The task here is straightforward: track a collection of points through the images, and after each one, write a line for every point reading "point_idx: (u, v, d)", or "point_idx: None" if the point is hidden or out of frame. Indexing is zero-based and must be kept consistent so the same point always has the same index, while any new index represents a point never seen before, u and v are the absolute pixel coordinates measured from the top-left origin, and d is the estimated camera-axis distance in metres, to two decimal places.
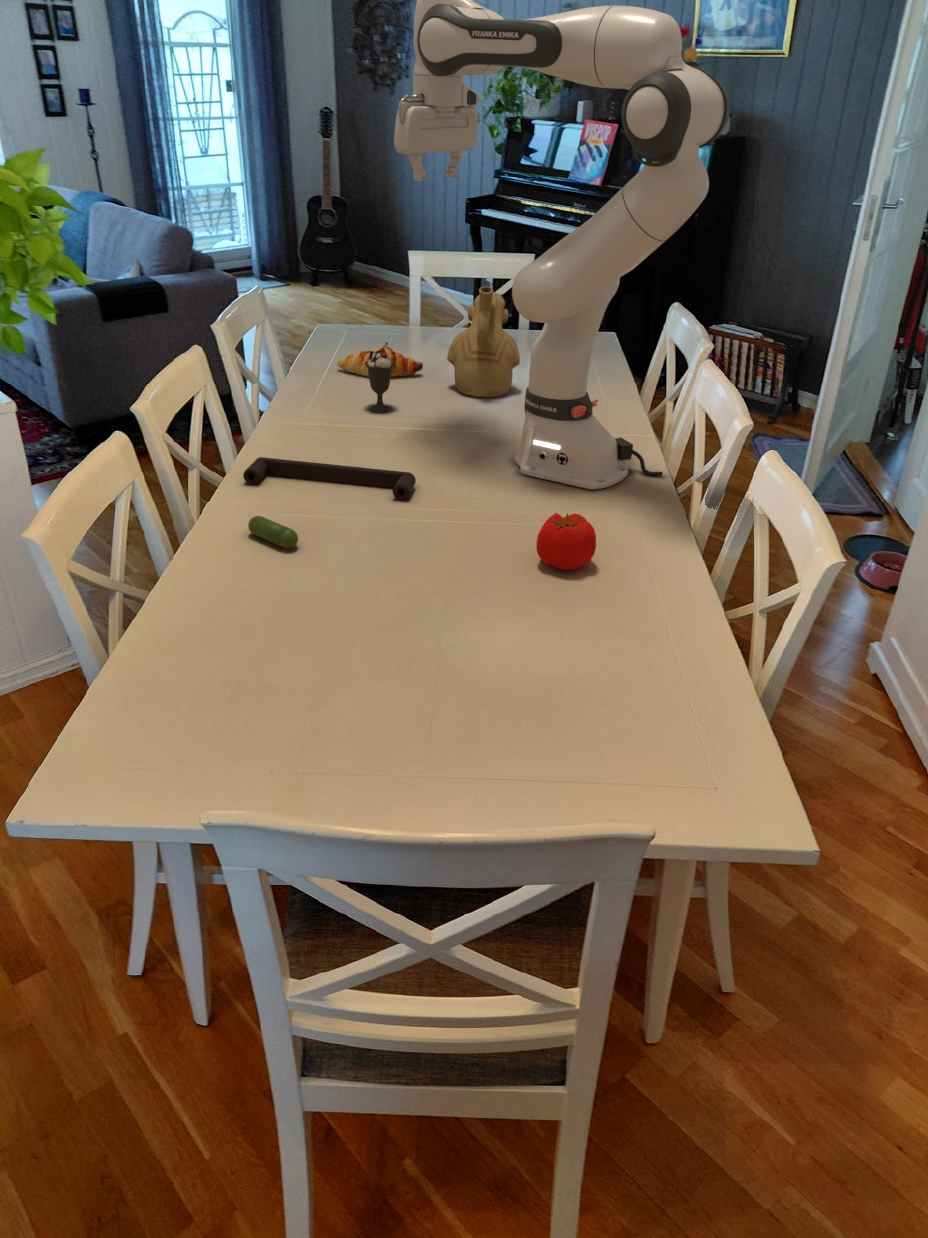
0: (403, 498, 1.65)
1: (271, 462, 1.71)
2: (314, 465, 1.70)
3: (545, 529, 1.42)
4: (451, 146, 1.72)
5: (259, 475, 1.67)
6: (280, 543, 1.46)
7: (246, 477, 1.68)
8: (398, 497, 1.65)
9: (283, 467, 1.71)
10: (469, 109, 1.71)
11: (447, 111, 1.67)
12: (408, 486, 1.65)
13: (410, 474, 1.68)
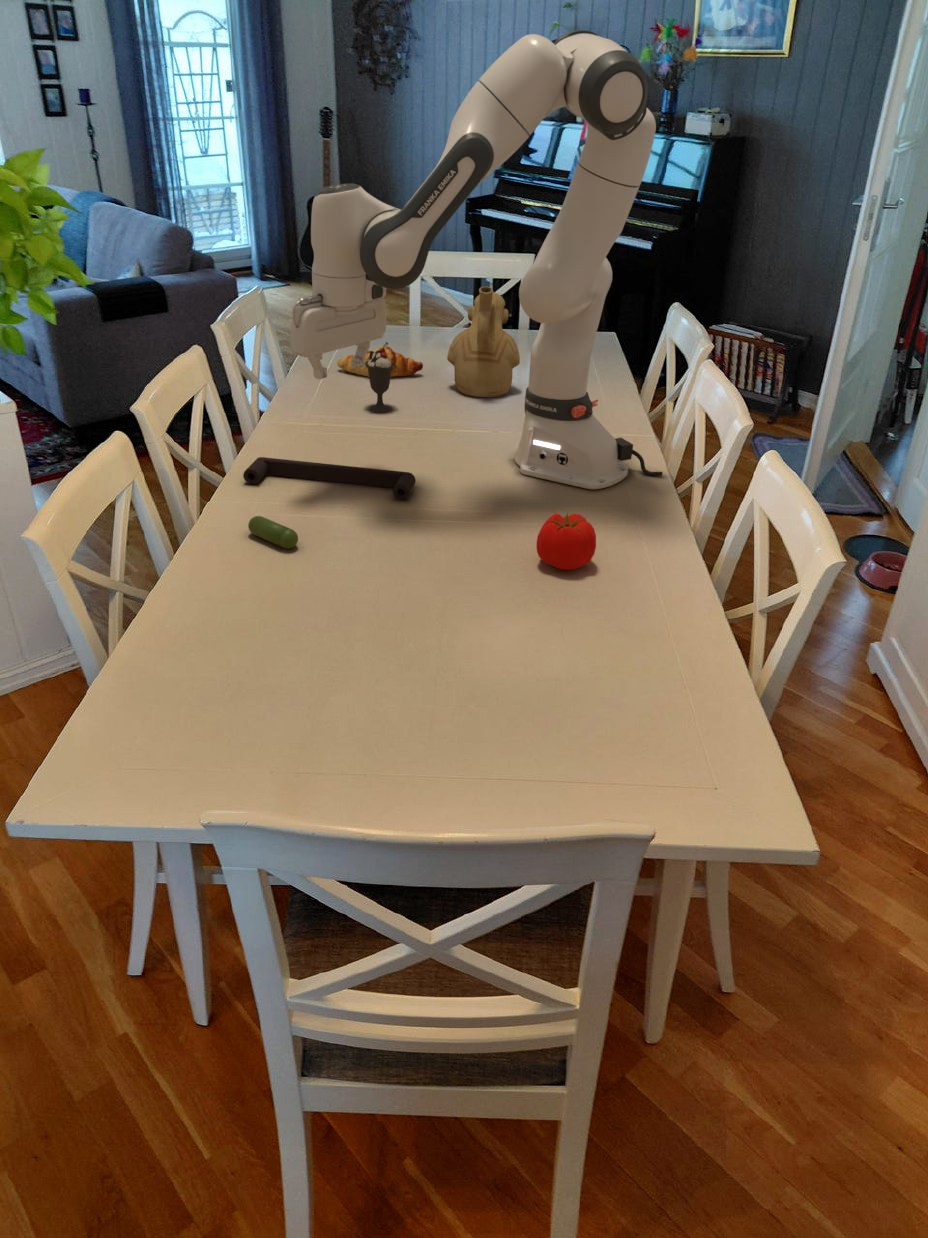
0: (403, 498, 1.65)
1: (271, 462, 1.71)
2: (314, 465, 1.70)
3: (545, 529, 1.42)
4: (356, 340, 1.60)
5: (259, 475, 1.67)
6: (280, 543, 1.46)
7: (246, 477, 1.68)
8: (398, 497, 1.65)
9: (283, 467, 1.71)
10: (375, 301, 1.59)
11: (348, 310, 1.55)
12: (408, 486, 1.65)
13: (410, 474, 1.68)
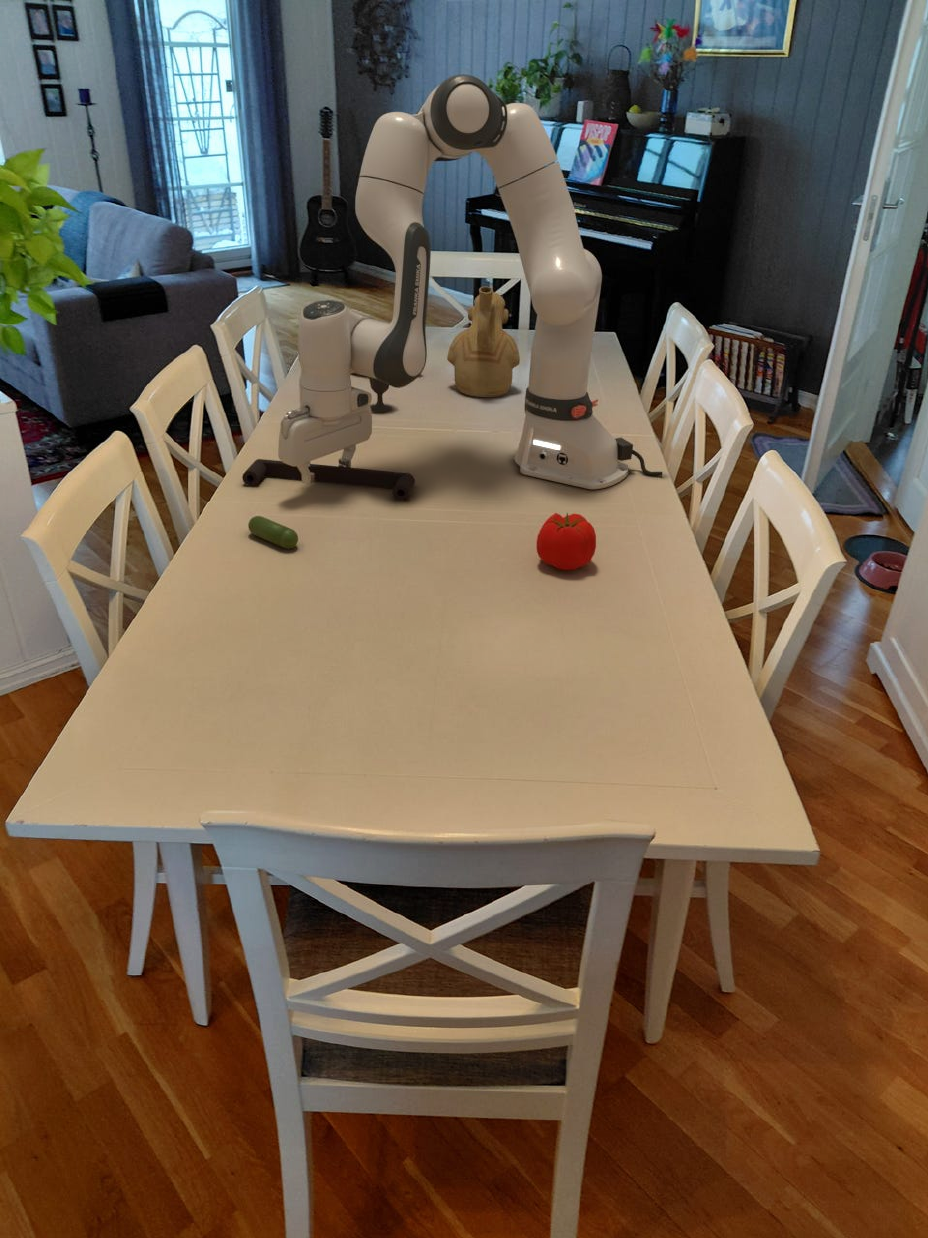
0: (403, 499, 1.65)
1: (270, 464, 1.70)
2: (313, 466, 1.69)
3: (545, 529, 1.42)
4: (343, 446, 1.66)
5: (258, 477, 1.67)
6: (280, 543, 1.46)
7: (245, 479, 1.67)
8: (398, 498, 1.65)
9: (282, 469, 1.70)
10: (361, 408, 1.65)
11: (335, 420, 1.60)
12: (408, 487, 1.65)
13: (410, 475, 1.68)
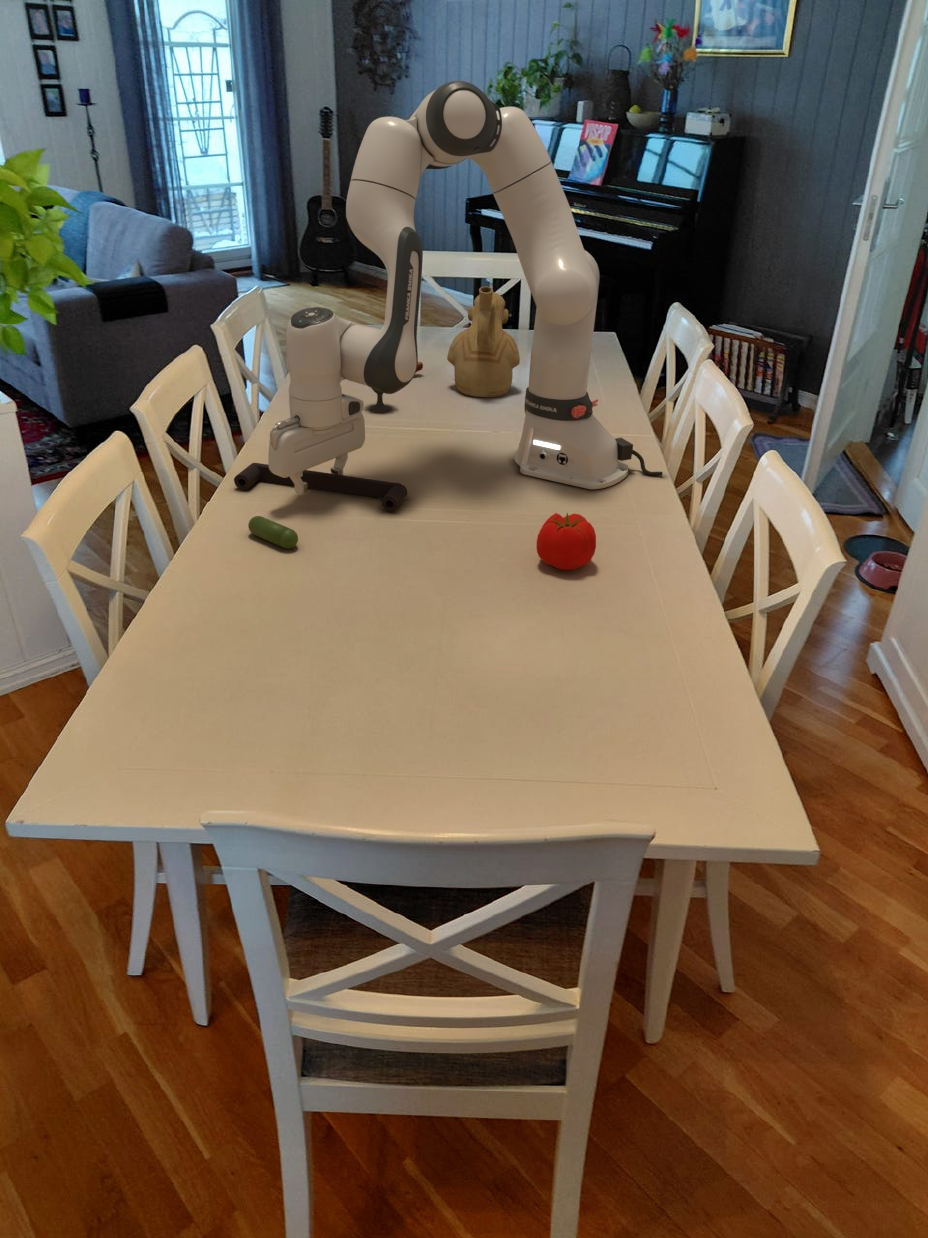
0: (391, 510, 1.60)
1: (264, 468, 1.68)
2: (306, 473, 1.67)
3: (545, 529, 1.42)
4: (335, 455, 1.63)
5: (249, 481, 1.65)
6: (280, 543, 1.46)
7: (237, 482, 1.66)
8: (386, 509, 1.60)
9: None
10: (353, 416, 1.62)
11: (326, 429, 1.57)
12: (398, 498, 1.60)
13: (402, 485, 1.64)
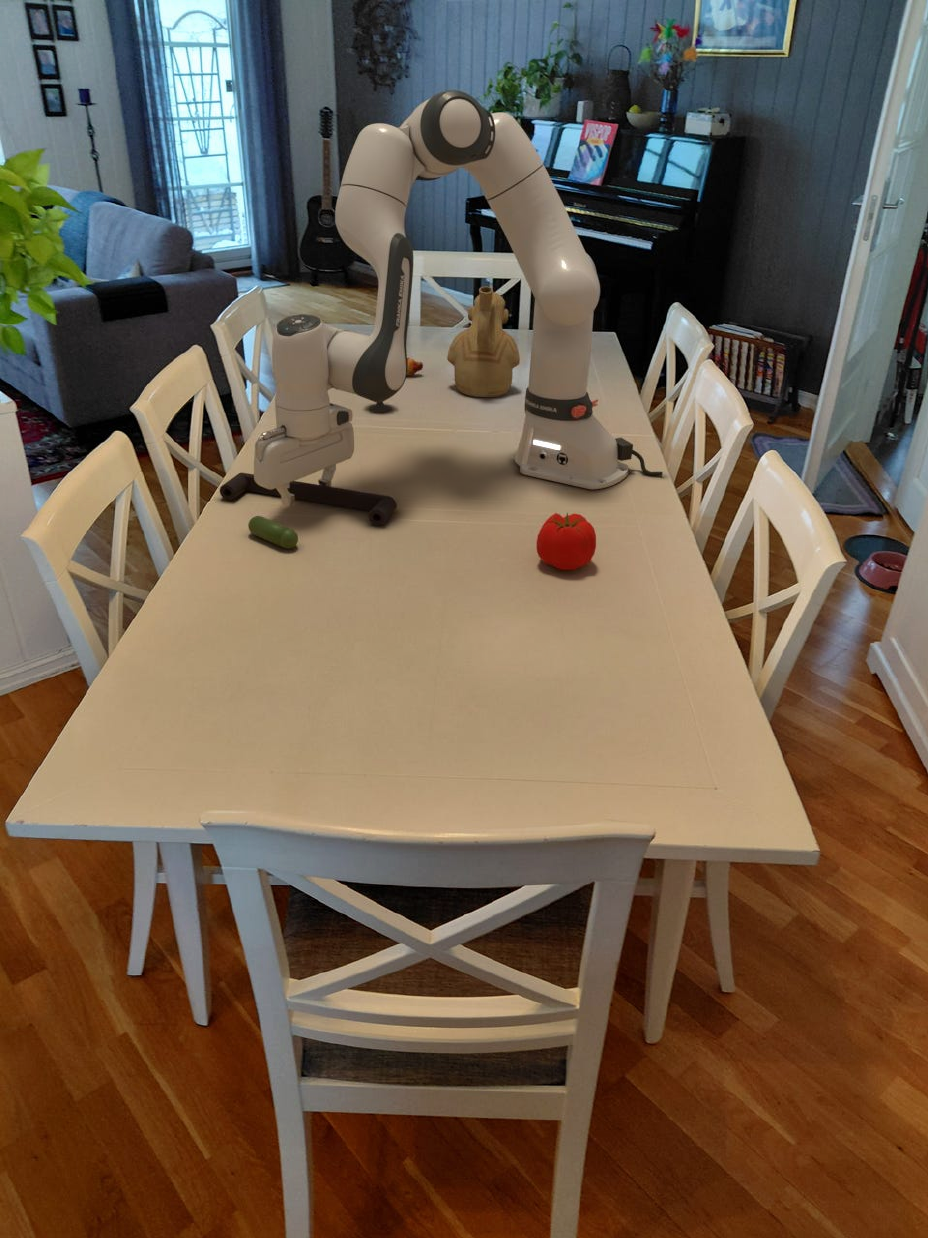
0: (379, 524, 1.55)
1: (251, 478, 1.64)
2: (294, 484, 1.62)
3: (545, 529, 1.42)
4: (323, 466, 1.58)
5: (235, 491, 1.61)
6: (280, 543, 1.46)
7: (222, 493, 1.61)
8: (374, 522, 1.56)
9: None
10: (341, 426, 1.57)
11: (313, 439, 1.52)
12: (385, 511, 1.55)
13: (390, 498, 1.59)
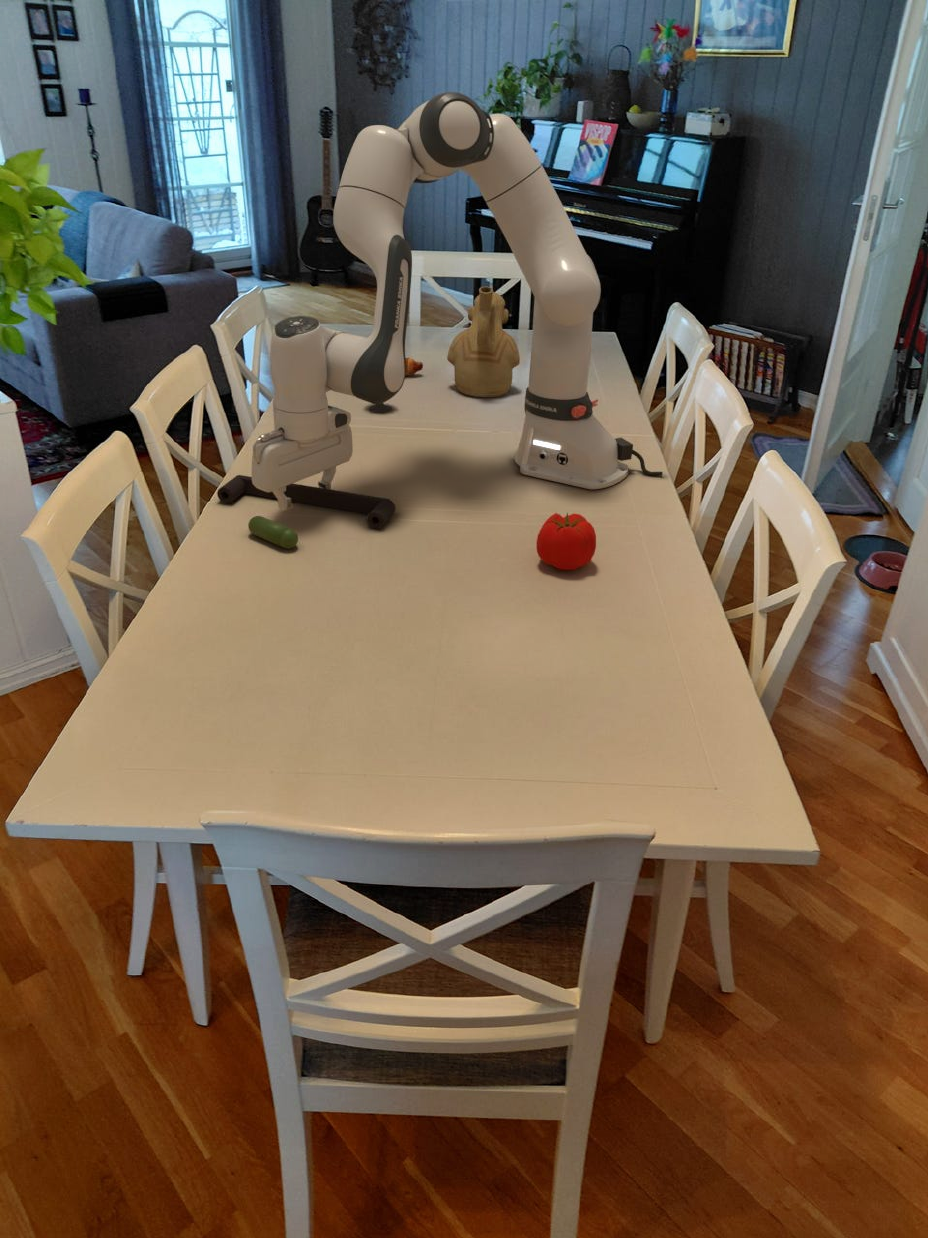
0: (377, 526, 1.55)
1: (249, 481, 1.63)
2: (292, 486, 1.61)
3: (545, 529, 1.42)
4: (321, 468, 1.57)
5: (233, 494, 1.60)
6: (280, 543, 1.46)
7: (220, 495, 1.60)
8: (372, 525, 1.55)
9: None
10: (340, 429, 1.56)
11: (311, 442, 1.51)
12: (384, 514, 1.54)
13: (389, 501, 1.58)
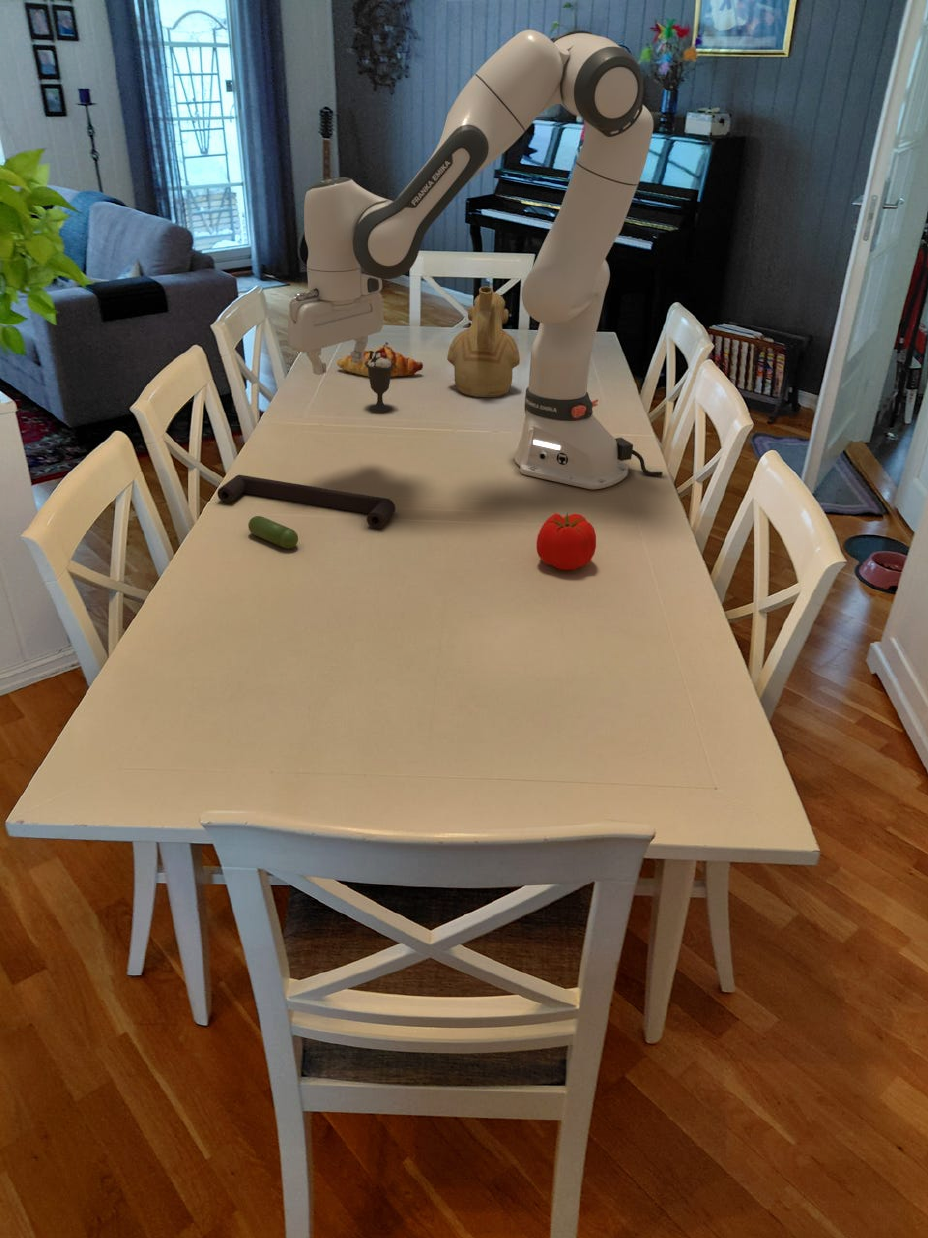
0: (377, 526, 1.55)
1: (249, 480, 1.63)
2: (292, 486, 1.61)
3: (545, 529, 1.42)
4: (354, 335, 1.60)
5: (233, 493, 1.60)
6: (280, 543, 1.46)
7: (220, 495, 1.60)
8: (372, 525, 1.55)
9: (261, 486, 1.63)
10: (372, 295, 1.59)
11: (345, 304, 1.55)
12: (384, 514, 1.54)
13: (389, 501, 1.58)
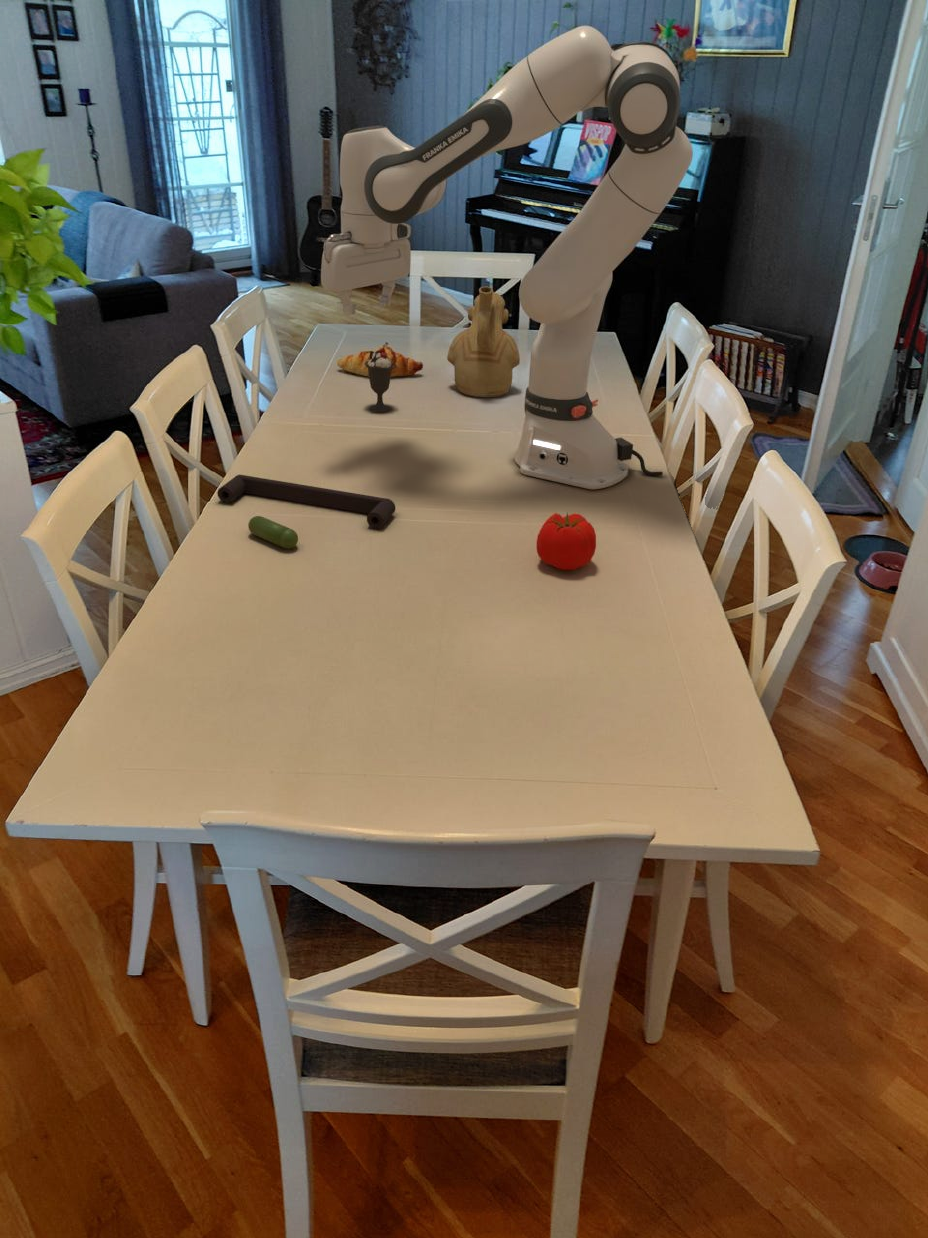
0: (377, 526, 1.55)
1: (249, 480, 1.63)
2: (292, 486, 1.61)
3: (545, 529, 1.42)
4: (382, 278, 1.69)
5: (233, 493, 1.60)
6: (280, 543, 1.46)
7: (220, 495, 1.60)
8: (372, 525, 1.55)
9: (261, 486, 1.63)
10: (400, 241, 1.68)
11: (376, 247, 1.63)
12: (384, 514, 1.54)
13: (389, 501, 1.58)
